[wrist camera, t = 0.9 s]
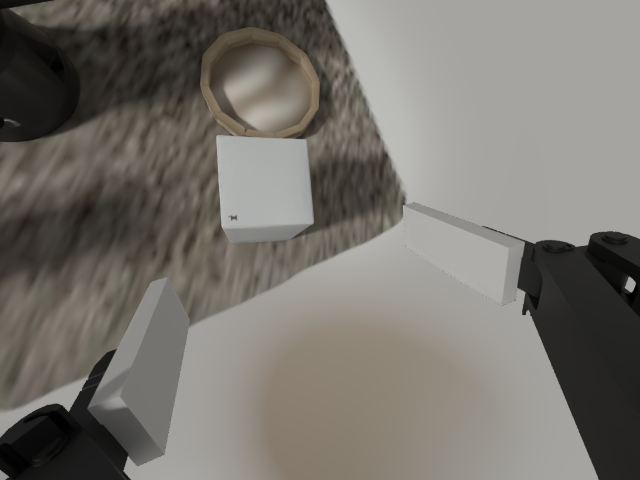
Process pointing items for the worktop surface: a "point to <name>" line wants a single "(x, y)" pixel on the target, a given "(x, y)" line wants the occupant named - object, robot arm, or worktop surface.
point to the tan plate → (259, 84)
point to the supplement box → (264, 188)
